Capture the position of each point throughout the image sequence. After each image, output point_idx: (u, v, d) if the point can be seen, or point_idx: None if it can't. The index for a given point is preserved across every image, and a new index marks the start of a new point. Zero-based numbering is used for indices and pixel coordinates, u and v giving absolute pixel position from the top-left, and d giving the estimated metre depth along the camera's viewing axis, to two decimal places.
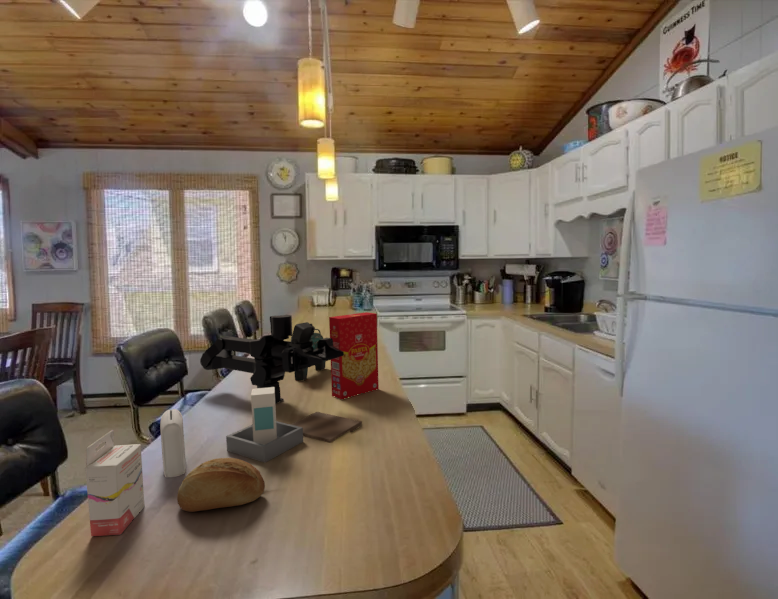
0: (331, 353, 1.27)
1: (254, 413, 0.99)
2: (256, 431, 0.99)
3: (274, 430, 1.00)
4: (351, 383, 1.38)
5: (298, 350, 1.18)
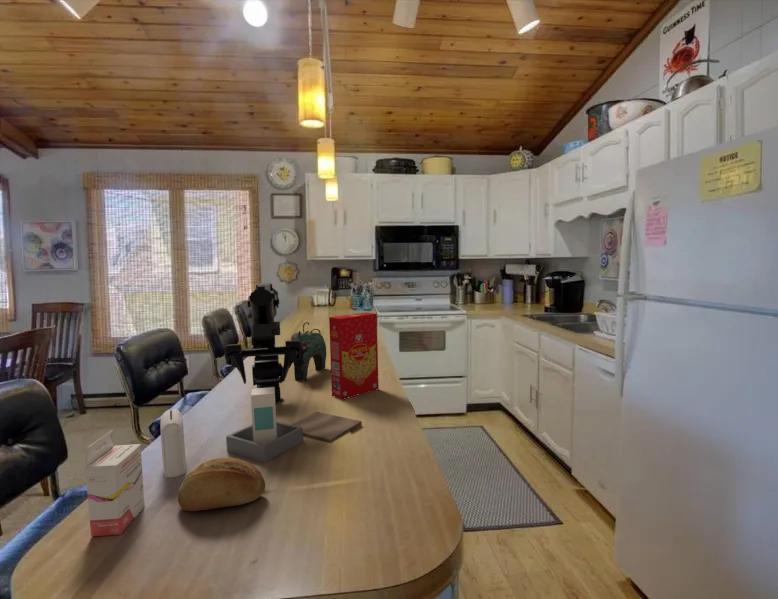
0: None
1: (254, 413, 0.99)
2: (256, 431, 0.99)
3: (274, 430, 1.00)
4: (351, 383, 1.38)
5: (236, 355, 1.09)
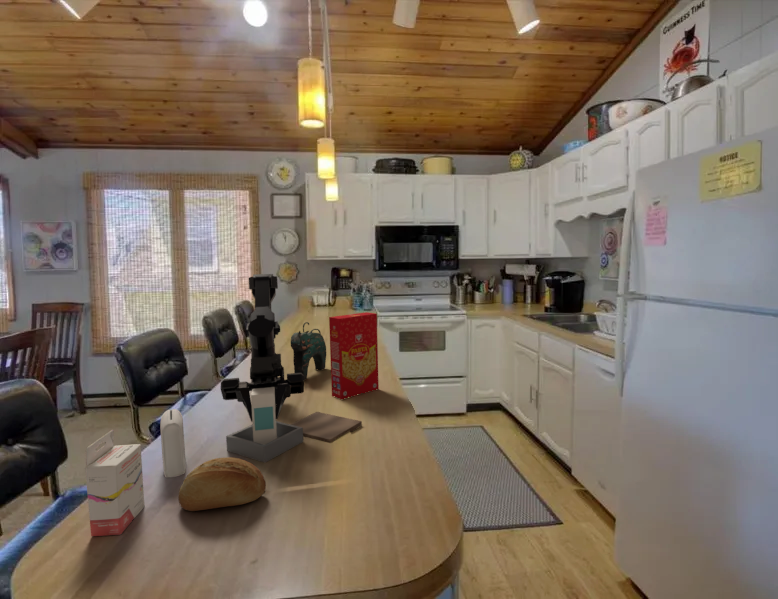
0: None
1: (254, 413, 0.99)
2: (256, 431, 0.99)
3: (274, 430, 1.00)
4: (351, 383, 1.38)
5: (242, 391, 1.01)
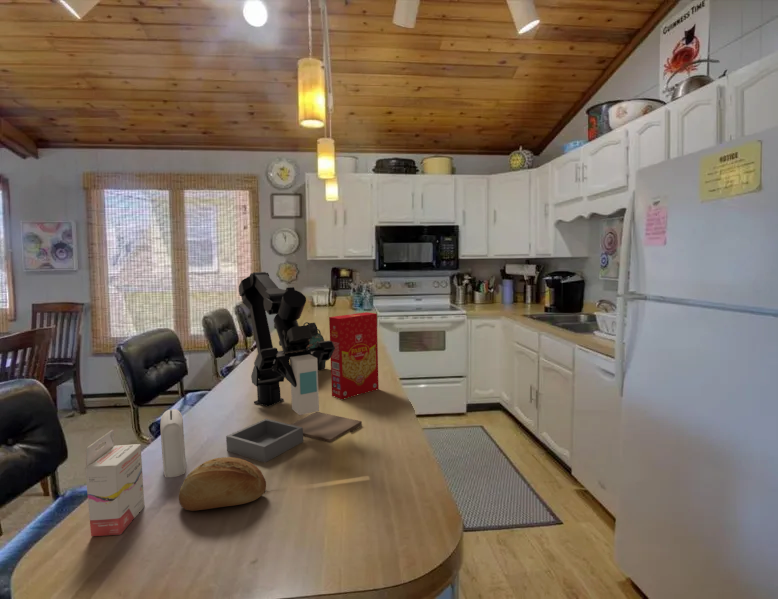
0: None
1: (299, 378, 1.04)
2: (301, 395, 1.05)
3: (317, 393, 1.07)
4: (351, 383, 1.38)
5: (283, 359, 1.06)
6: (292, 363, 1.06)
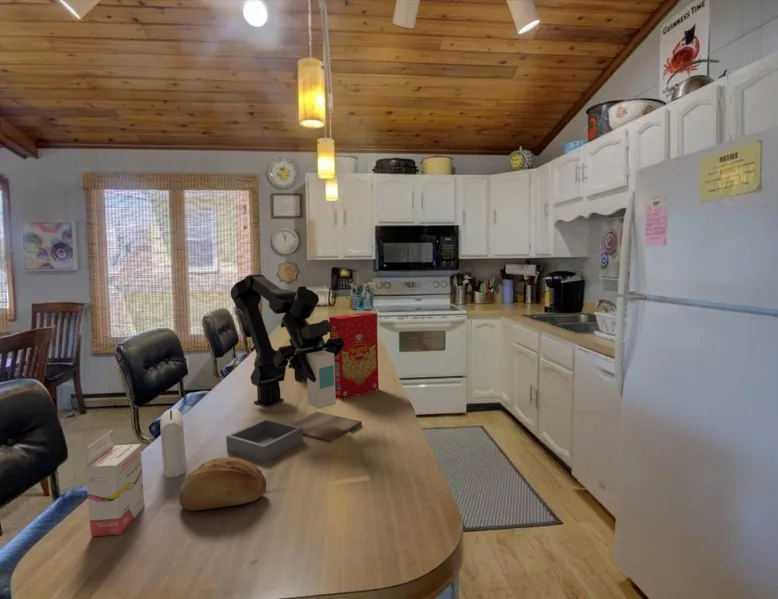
0: None
1: (319, 373, 1.09)
2: (321, 389, 1.09)
3: (334, 387, 1.12)
4: (351, 383, 1.38)
5: (301, 355, 1.09)
6: (310, 359, 1.10)
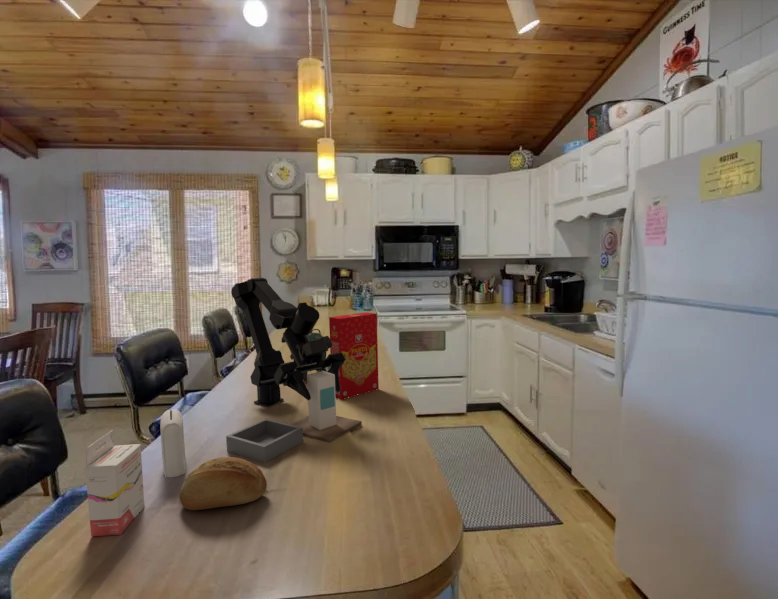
0: None
1: (320, 394, 1.09)
2: (321, 410, 1.10)
3: (334, 408, 1.12)
4: (351, 383, 1.38)
5: (296, 373, 1.09)
6: (311, 381, 1.11)
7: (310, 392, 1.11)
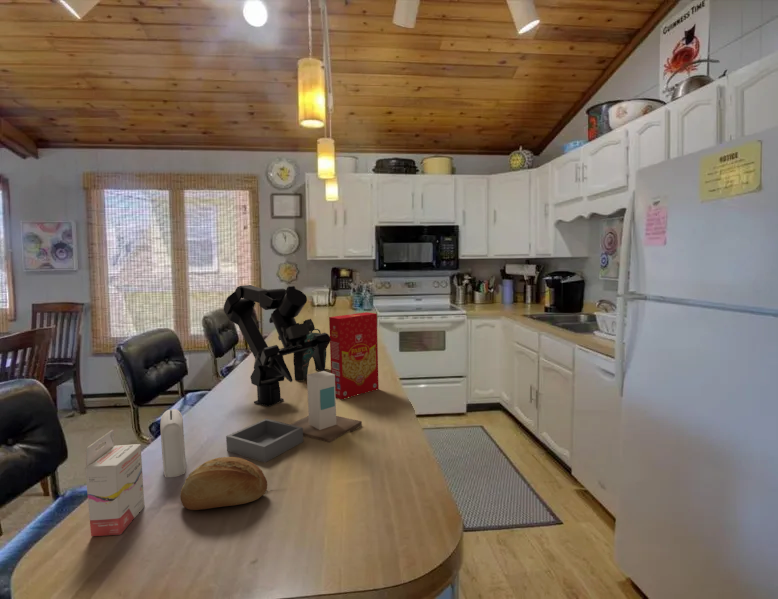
0: (317, 358, 1.22)
1: (320, 394, 1.09)
2: (321, 410, 1.10)
3: (334, 408, 1.12)
4: (351, 383, 1.38)
5: (277, 357, 1.14)
6: (311, 381, 1.11)
7: (310, 392, 1.11)
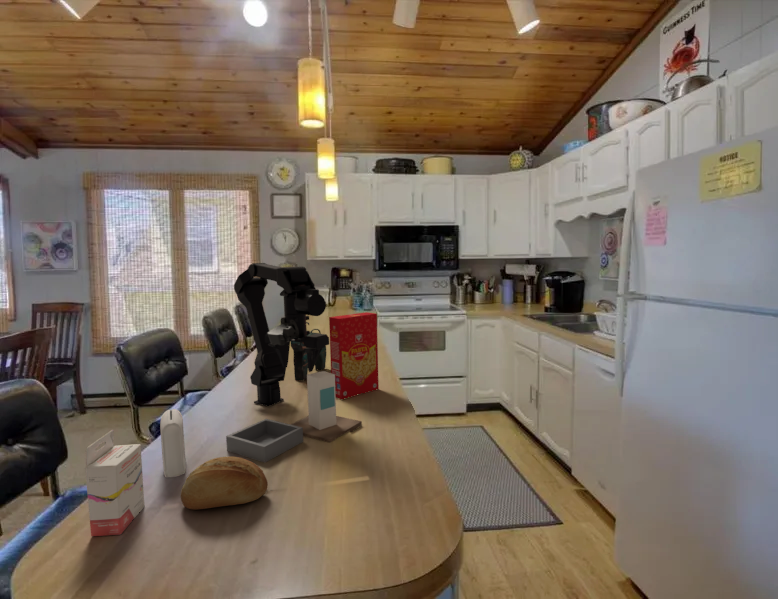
0: None
1: (320, 394, 1.09)
2: (321, 410, 1.10)
3: (334, 408, 1.12)
4: (351, 383, 1.38)
5: (272, 346, 1.23)
6: (311, 381, 1.11)
7: (310, 392, 1.11)
